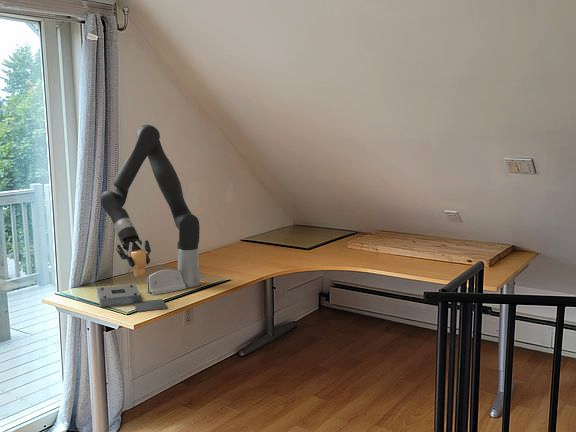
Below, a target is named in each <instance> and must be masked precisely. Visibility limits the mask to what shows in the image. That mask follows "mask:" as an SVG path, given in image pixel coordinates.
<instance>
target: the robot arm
mask: <svg viewBox="0 0 576 432" xmlns="http://www.w3.org/2000/svg"><path fill="white" fill-rule="evenodd" d="M160 139H161V134H160V131H159V130H158V128H156V127H155V126H154V125H151V124H142V125H140V127H138V129H137V131H136V142H135V145H134V147H133V149H132V151H131V153H130V154H129V156H128V157H127V158H126V160H125V161H124V163H123V164H122V166H121V167H120V169H119V171H118V172H117V174H116V176H115V178H114V179H113V182H112V183H113V186H115V187H116V189H115V192H114V191H111V190H106V191H105V190H104V191H103V192H102V193H101V195H100V198H99V200H100V204H101V207H102V208H103V209H104V211H105V212H106V214H107V215H108V216H109V217H110V219H111V221H112V224H113V227H114V230H115V232H116V233H115V234H116V235H117V237H118V239H119V241H120V242H119V243H120V244H117V245H116V248H115V250H116V252H117V253H118V255H119V256H120V259H121V260H127V262H128V266H130V267H131V268H134V266H135V263H134V261H133V259H132V257H131V252H132V251H134V250H146V263H147V265H150V263H151V259H150V256H149V255H150V254H151V252H152V249H151V245H150V242H149V240H148V239H146V240H145V241H142V240H141V239H140V236H139V234H138V232H137V230H136V228H135V225H134V223H133V222H132V219H131V218H130V216H129V213H128V212H127V210H126V209H125V208H124V206H125V204H126V202H127V197H128V194H129V189H130V187H131V185H132V184H133V182H134V180H135V178H136V176H137V175H138V172H140V171H139V170H140V169H141V167H142V165H143V164H144V162H145V161H146V158H147V159H148V161H149V164H150V167H151V170H152V173H153V176H154V179H155V181H156V183H157V186H158V187H159V190H160V192H161V194H162V195H163V197H164V200H165V202H166V203H167V204H168V206H169V207H168V208H169V209H170V212H171V214H172V218H173V220H174V224H175V226H176V229H178V241H177V243H176V244H177V270H178V271H180V272H181V275H182V278H183V281H184V283H185V285H186V289H188V288H195V287H200V285H201V272H200V271H201V269H200V267H201V266H200V264H199V244H200V229H201V228H200V220H199V218H198V217H197V215H195V214H193V213H192V212H191V210H190V209H189V207H188V205H187V202H186V201H185V198H184V193H183V188H182V184H181V181H180V178H179V176H178V174H177V172H176V170H175V168H174V166H173V164H172V163H171V161H170V159H169V158H168V156H167V154H166V152H165V150H164V149H163V146H162V143H161V140H160ZM125 251H126V253H125Z"/></svg>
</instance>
